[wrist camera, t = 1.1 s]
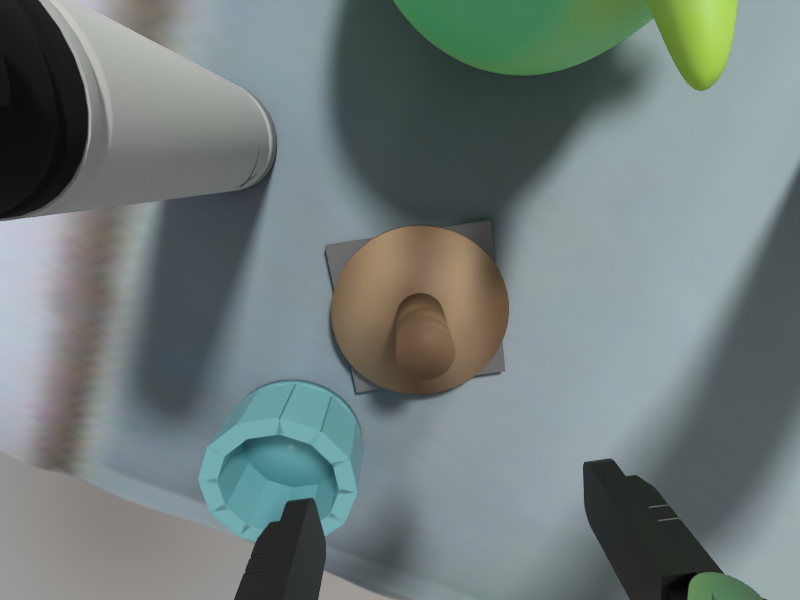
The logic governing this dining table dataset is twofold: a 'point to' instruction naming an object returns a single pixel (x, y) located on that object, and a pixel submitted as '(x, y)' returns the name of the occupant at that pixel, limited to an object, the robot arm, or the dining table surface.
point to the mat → (472, 230)
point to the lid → (419, 309)
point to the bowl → (283, 457)
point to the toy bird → (574, 32)
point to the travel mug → (114, 117)
